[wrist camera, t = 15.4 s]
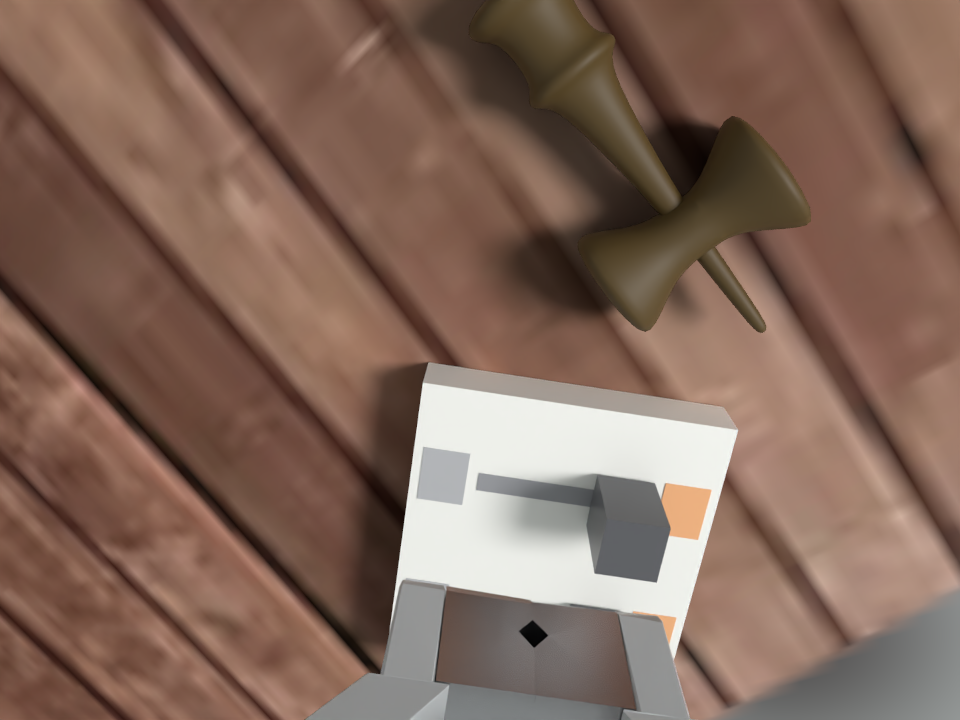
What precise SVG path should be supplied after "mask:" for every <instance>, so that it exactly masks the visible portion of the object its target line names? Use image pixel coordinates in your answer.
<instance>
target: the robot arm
mask: <svg viewBox="0 0 960 720" xmlns="http://www.w3.org/2000/svg"><path fill="white" fill-rule="evenodd" d="M305 720H693V719H690V716H689V712H688V709H687V705H686V702H685V698H684V695H683V691H682V688H681V684H680V681H679V677H678V674H677V670H676V667H675V663H674V660H673V656H672V653H671V649H670V646H669V642H668V639H667V635H666V632H665V628H664V625H663V621H662V620H661V619H660V618H659V617H658V616H654V615H645V614H636V613H627V612H618V611H615V612H609V611H602V610H594V609H587V608H579V607H572V606H564V605H556V604H549V603H541V602H534V601H531V600H527V599H521V598H515V597H510V596H504V595H498V594H492V593H486V592H480V591H474V590H468V589H462V588H456V587H450V586H447V587H446V593H445V587H444V585H437V584H431V583H424V582H417V581H410V580H403V581H402V582H401V584H400V586H399V591H398V595H397V600H396V605H395V609H394V614H393V619H392V623H391V628H390V633H389V637H388V642H387V647H386V651H385V656H384V661H383V665H382V670H381V674H372V673H367V674H365V675H364V676H363V677H361V678H360V679H359V680H357V681H356V682H354V683H353V684H352V685H350V686H349V687H348V688H346V689H345V690H344V691H342V692H341V693H340V694H338V695H337V696H336V697H334V698H333V699H332V700H330V701H329V702H328V703H326V704H325V705H324V706H322V707H321V708H320V709H318V710H317V711H316V712H314V713H313V714H311V715H310V716H309V717H307V718H306V719H305Z"/></svg>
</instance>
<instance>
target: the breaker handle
mask: <svg viewBox="0 0 960 720" xmlns="http://www.w3.org/2000/svg"><path fill="white" fill-rule="evenodd" d="M586 526H587V532H588V538H589V544H590V550H591V556H592V562H593V568H594V574H601V575H607V576H614V577H621V578H628V579H635V580H641V581H648V582H655V583H657V580H658V576H659V572H660V568H661V564H662V561H663V557H664V553H665V549H666V545H667V541H668V538H669V534H670V530H671V527H670V524H669V522H668V519H667V516H666V513H665V510H664V507H663V504H662V502H661V499H660V496H659V493H658V490H657V487H656V485H655V483H651V482H644V481H637V480H631V479H624V478H617V477H611V476H604V475H597V479H596V483H595V488H594V492H593V497H592V501H591V506H590V510H589V515H588V519H587V524H586Z"/></svg>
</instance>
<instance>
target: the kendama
mask: <svg viewBox="0 0 960 720" xmlns="http://www.w3.org/2000/svg"><path fill="white" fill-rule="evenodd" d="M469 35H470V37H471V38H472V40H474V41H476V42H480V43H491V44H494V45H497V46H499V47H500V48H501V49H503V50H504V51H505V52H506V53H507V54H508V55H509V56H510V57H511V58H512V59H513V61H514V62H515V63H516V64H517V66H518V67H519V68H520V70H521V71H522V73H523V75H524V76H525V78H526V80H527V83H528V86H529V103H530V106H531V107H532V108H534V109H549V110H552V111H554V112H556V113H558V114H559V115H561V116H562V117H564V118H565V119H567V120H568V121H569V122H570V123H571V124H573V125H574V126H575V127H576V128H577V129H578V130H579V131H580V132H581V133H583V134H584V135H585V136H586V137H587V138H588V139H589V140H590V141H591V142H592V143H593V144H594V145H595V146H596V147H597V148H598V149H599V150H600V151H601V152H602V153H603V154H604V155H605V156H606V157H607V158H608V159H609V160H610V161H611V162H612V163H613V164H614V165H615V166H616V167H617V168H618V169H619V170H620V171H621V173H622V174H623V175H624V176H625V177H626V178H627V179H628V180H629V181H630V182H631V183H632V184H633V185H634V186H635V188H636V189H637V190H638V191H639V192H640V193H641V194H642V195H643V196H644V197H645V199H646V200H647V201H648V202H649V203H650V204H651V205H652V207H653V208H654V209H655V210H656V211H657V212H658V213H659V214H658V215H657V216H655V217H653V218H651V219H649V220H647V221H645V222H642V223H640V224H637V225H633V226H629V227H625V228H619V229H613V230H606V231H600V232H595V233H590V234H587V235H585V236H583V237H582V238H581V239H580V240H579V241H578V250H579V253H580V255H581V257H582V259H583V261H584V263H585V266H586V267H587V269H588V270H589V272H590V273H591V275H592V277H593V278H594V280H595V281H596V282H597V284H598V285H599V287H600V288H601V289H602V291H603V292H604V293H605V295H606V296H607V298H608V299H609V300H610V301H611V303H612V304H613V305H614V306H615V307H616V308H617V310H618V311H619V312H620V313H621V314H622V315H623V316H624V317H625V318H626V319H627V320H628V321H629V322H630V323H631V324H632V325H633V326H635V327H636V328H637V329H639V330H642V331H645V332H646V331H648V330H650V329H651V328H652V327H653V326H654V324H655V323H656V321H657V319H658V317H659V316H660V314H661V312H662V309H663V307H664V305H665V303H666V301H667V299H668V297H669V295H670V293H671V291H672V289H673V287H674V286H675V284H676V282H677V281H678V279H679V278H680V277H681V275H682V274H683V273H684V272H685V270H686V269H688V268H689V267H690V266H691V265H692V264H693V263H694V262H695V261H696V260H698V262H699V263H700V264H701V265H702V267H703V268H704V269H705V270H706V272H707V273H708V274H709V275H710V277H711V278H712V279H713V280H714V281H715V283H716V284H717V285H718V286H719V288H720V289H721V290H722V291H723V293H724V294H725V295H726V296H727V298H728V299H729V300H730V301H731V303H732V304H733V305H734V306H735V307H736V309H737V310H738V311H739V312H740V313H741V315H742V316H743V317H744V318H745V319H746V321H747V322H748V323H749V324H750V325H751V326H752V327H753V328H754V329H755V330H756V331H757V332H760V333H763V332H765V330H766V325H765V322H764V320H763V318H762V317H761V315H760V313H759V312H758V310H757V309H756V307H755V306H754V304H753V302H752V301H751V299H750V298H749V296H748V295H747V293H746V292H745V290H744V289H743V288H742V286H741V285H740V283H739V282H738V280H737V279H736V277H735V276H734V274H733V273H732V271H731V270H730V268H729V267H728V265H727V264H726V262H725V261H724V259H723V258H722V257H721V255H720V254H719V252H718V251H717V249H716V248H715V246H717V245H718V244H719V243H721V242H722V241H724V240H726V239H728V238H730V237H732V236H735V235H738V234H742V233H746V232H753V231H761V230H773V229H786V228H795V227H800V226H805V225H807V224H808V223H809V222H810V221H811V212H810V207H809V205H808V202H807V200H806V198H805V196H804V194H803V192H802V190H801V188H800V186H799V185H798V183H797V182H796V180H795V178H794V177H793V175H792V174H791V172H790V170H789V169H788V168H787V166H786V165H785V164H784V162H783V161H782V160H781V158H780V157H779V156H778V155H777V153H776V152H775V151H774V150H773V148H772V147H771V146H770V145H769V144H768V143H767V142H766V141H765V140H764V138H763V137H762V136H761V135H760V134H759V133H758V132H757V131H756V130H755V129H754V128H753V127H751V126H750V125H749V124H748V123H747V122H745V121H744V120H742V119H741V118H738V117H734V116H732V117H730V118H729V119H727V120H726V121H724V123H723V125H722V126H721V128H720V130H719V132H718V135H717V137H716V139H715V142H714V144H713V147H712V150H711V152H710V155H709V157H708V160H707V162H706V165H705V167H704V169H703V171H702V173H701V175H700V177H699V179H698V180H697V182H696V183H695V185H694V186H693V187H692V188H691V189H690V191H689V192H688V193H687V194H686V195H684V196H683V197H682V196H681V194H680V193H679V191H678V189H677V188H676V186H675V185H674V183H673V181H672V180H671V178H670V176H669V175H668V173H667V171H666V170H665V168H664V166H663V165H662V163H661V161H660V160H659V158H658V156H657V154H656V153H655V151H654V149H653V147H652V145H651V144H650V142H649V140H648V138H647V136H646V135H645V133H644V131H643V129H642V127H641V125H640V124H639V122H638V120H637V118H636V116H635V114H634V112H633V110H632V108H631V106H630V105H629V103H628V100H627V98H626V96H625V94H624V92H623V90H622V88H621V86H620V83H619V81H618V78H617V76H616V73H615V70H614V66H613V58H612V55H613V48H614V45H615V38H614V36H613V35H611V34H609V33H604V32H600V31H598V30H596V29H594V28H593V27H592V26H591V25H590V24H589V23H588V22H587V21H586V19H585V18H584V17H583V15H582V14H581V12H580V11H579V9H578V8H577V6H576V4H575V2H574V0H486V1H485V2H484V3H483V5H482V6H481V7H480V8H479V9H478V11H477V12H476V13H475V15H474V17H473V19H472V21H471V23H470V25H469Z"/></svg>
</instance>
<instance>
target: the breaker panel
mask: <svg viewBox="0 0 960 720" xmlns="http://www.w3.org/2000/svg"><path fill="white" fill-rule="evenodd" d="M737 433H738V429H737V428H736V426H735V424H734V423H733V421H732V420H731V418H730V416H729V415H728V413H727V412H726V410H725V409H724V407H721V406H714V405H707V404H701V403H694V402H688V401H681V400H674V399H668V398H661V397H654V396H648V395H641V394H635V393H628V392H621V391H615V390H608V389H601V388H595V387H588V386H582V385H575V384H568V383H562V382H555V381H549V380H542V379H535V378H529V377H522V376H515V375H509V374H502V373H496V372H489V371H482V370H476V369H469V368H462V367H456V366H449V365H443V364H436V363H429V362H428V366H427V370H426V373H425V377H424V380H423V386H422V393H421V401H420V408H419V415H418V423H417V430H416V438H415V445H414V453H413V460H412V468H411V475H410V483H409V490H408V498H407V505H406V513H405V520H404V528H403V535H402V542H401V550H400V557H399V565H398V572H397V580H396V587H395V595H394V602H393V610H392V617H391V623H392V619H393V614H394V609H395V605H396V600H397V595H398V591H399V586H400V584H401V582H402V581H403V580H410V581H417V582H424V583H431V584H437V585H444V587H445V593H446V587H447V586H450V587H456V588H462V589H468V590H474V591H480V592H486V593H492V594H498V595H504V596H510V597H515V598H521V599H527V600H531V601H534V602H541V603H549V604H556V605H564V606H570V604H573V605H579V606H586V607H593V608H600V609H607V610H614V611H620V612H627V613H636V614H645V615H654V616H658V617H659V618H660V619H661V620H662V621H663V625H664V628H665V632H666V635H667V639H668V642H669V646H670V649H671V653H672V656H673V660H674V657H675V654H676V650H677V646H678V643H679V639H680V636H681V632H682V629H683V625H684V621H685V618H686V614H687V611H688V607H689V604H690V600H691V597H692V593H693V589H694V586H695V582H696V579H697V575H698V572H699V568H700V564H701V561H702V557H703V554H704V550H705V547H706V543H707V539H708V536H709V532H710V529H711V525H712V522H713V518H714V515H715V511H716V507H717V504H718V500H719V497H720V493H721V490H722V486H723V482H724V479H725V475H726V472H727V468H728V465H729V461H730V457H731V454H732V450H733V447H734V443H735V440H736V436H737ZM597 475H604V476H611V477H617V478H624V479H631V480H637V481H644V482H651V483H655V485H656V487H657V490H658V493H659V496H660V499H661V502H662V504H663V507H664V510H665V513H666V516H667V519H668V522H669V524H670V527H671V530H670V534H669V538H668V541H667V545H666V549H665V553H664V557H663V561H662V564H661V568H660V572H659V576H658V580H657V583H655V582H648V581H641V580H635V579H628V578H621V577H614V576H607V575H601V574H594V568H593V562H592V556H591V550H590V544H589V538H588V532H587V526H586V524H587V519H588V515H589V510H590V506H591V501H592V497H593V492H594V488H595V483H596V479H597ZM390 628H391V625H390ZM389 633H390V632H389Z"/></svg>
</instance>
